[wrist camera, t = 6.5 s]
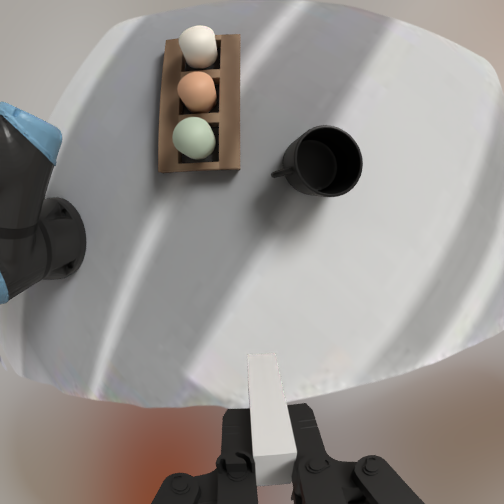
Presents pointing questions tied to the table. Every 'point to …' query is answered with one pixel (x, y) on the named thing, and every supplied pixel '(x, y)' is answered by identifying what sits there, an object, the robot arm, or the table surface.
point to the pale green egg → (194, 138)
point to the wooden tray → (224, 119)
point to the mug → (322, 162)
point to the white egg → (198, 46)
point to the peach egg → (197, 92)
